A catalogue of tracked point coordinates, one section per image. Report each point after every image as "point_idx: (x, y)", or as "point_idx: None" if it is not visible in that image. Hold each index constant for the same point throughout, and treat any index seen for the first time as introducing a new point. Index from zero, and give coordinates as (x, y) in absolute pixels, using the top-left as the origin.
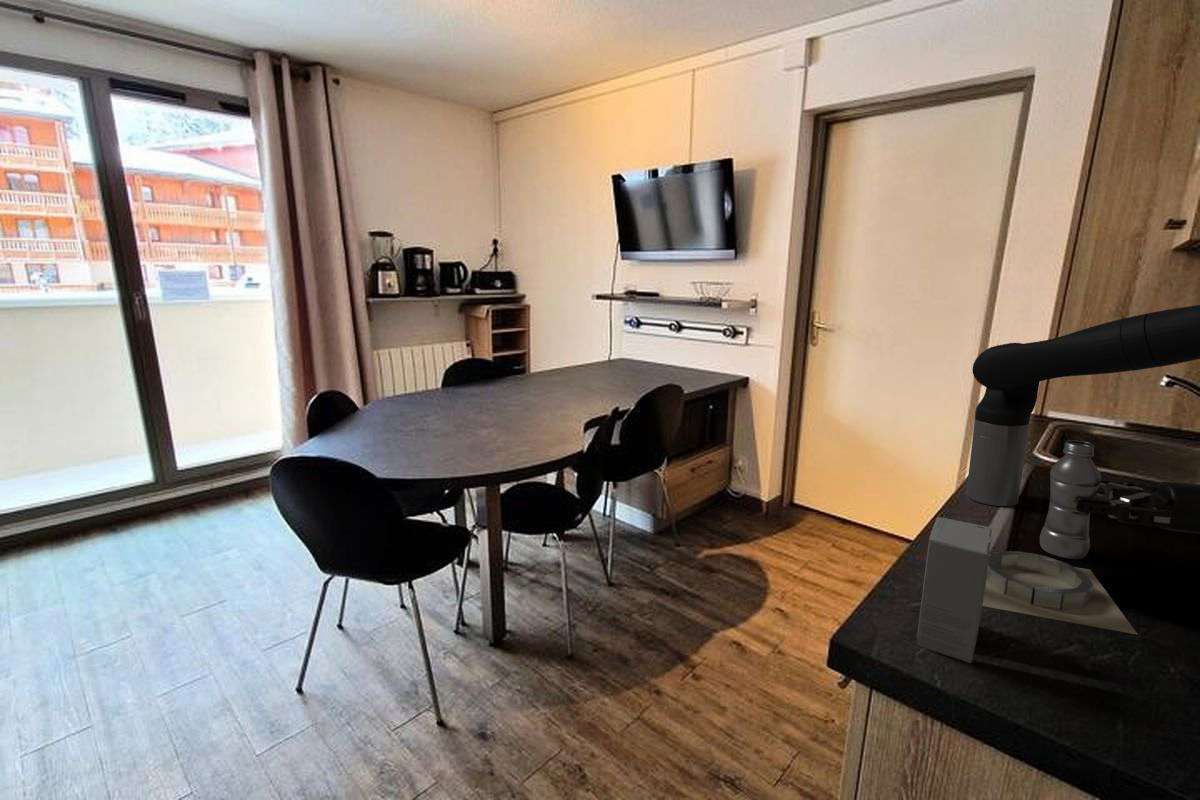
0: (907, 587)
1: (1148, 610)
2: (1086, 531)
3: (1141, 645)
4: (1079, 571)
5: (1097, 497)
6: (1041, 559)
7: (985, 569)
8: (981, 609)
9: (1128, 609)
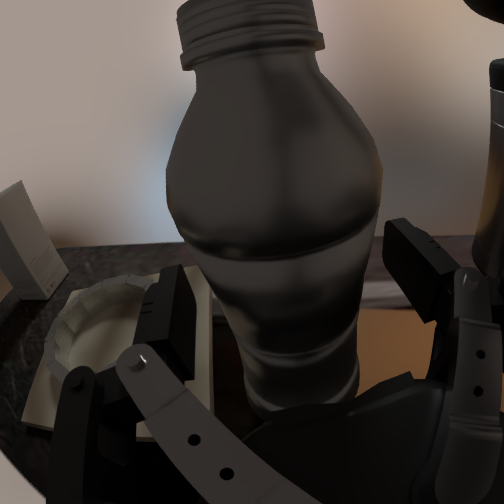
0: (114, 255)
1: None
2: (265, 393)
3: (23, 427)
4: None
5: (433, 352)
6: None
7: None
8: (3, 265)
9: None
